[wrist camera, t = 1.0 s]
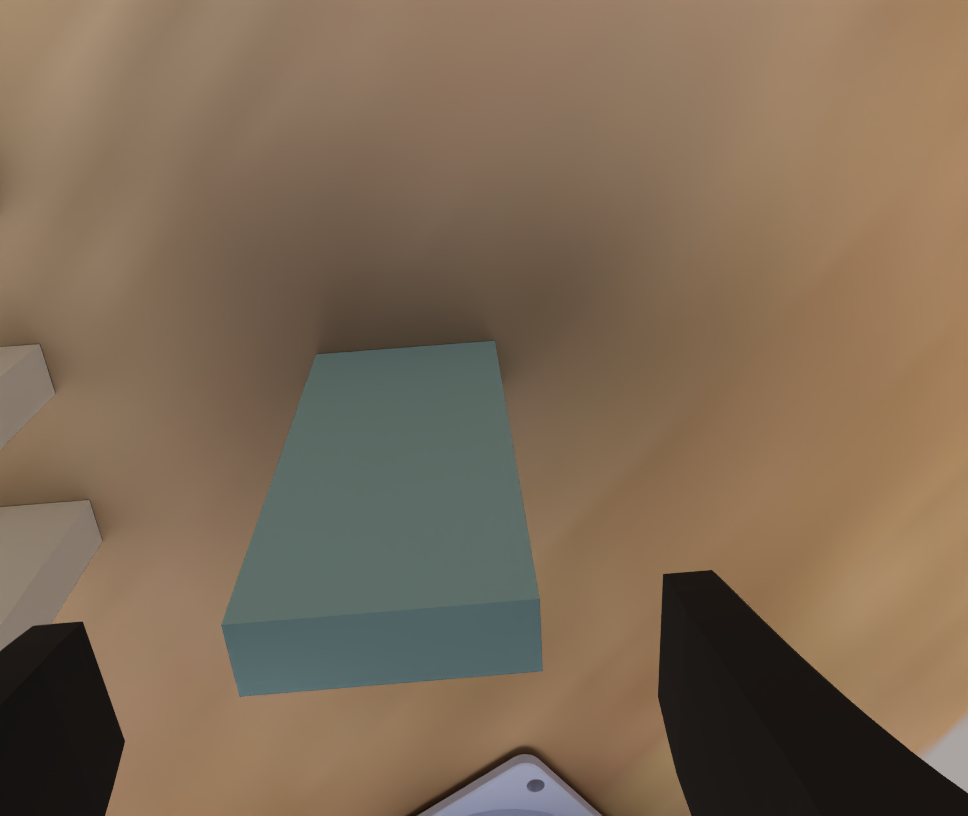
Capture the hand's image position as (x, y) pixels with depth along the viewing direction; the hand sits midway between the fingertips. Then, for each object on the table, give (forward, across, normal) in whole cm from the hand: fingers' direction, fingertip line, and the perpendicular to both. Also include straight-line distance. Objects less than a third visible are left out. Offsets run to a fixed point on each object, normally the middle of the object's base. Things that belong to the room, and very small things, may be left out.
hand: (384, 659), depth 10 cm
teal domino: (+9, 0, 0) cm, 9 cm away
